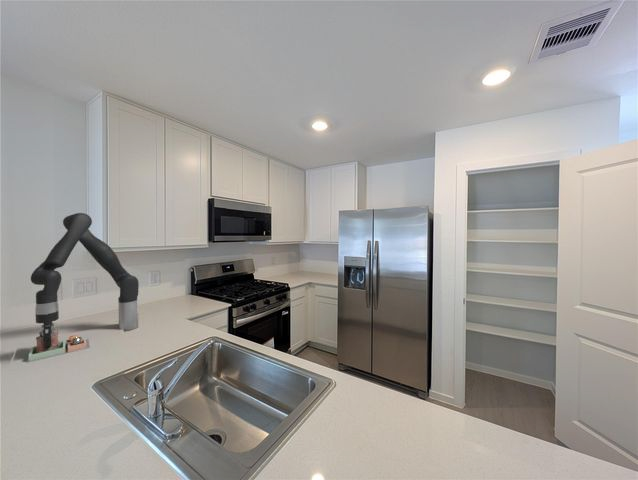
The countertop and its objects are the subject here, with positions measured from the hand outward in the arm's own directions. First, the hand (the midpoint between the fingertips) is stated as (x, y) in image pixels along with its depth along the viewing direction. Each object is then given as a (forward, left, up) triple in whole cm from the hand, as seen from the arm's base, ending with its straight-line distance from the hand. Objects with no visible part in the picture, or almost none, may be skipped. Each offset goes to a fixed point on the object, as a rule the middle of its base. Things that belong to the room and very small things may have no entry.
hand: (48, 345), depth 121 cm
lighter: (0, 0, -2) cm, 2 cm away
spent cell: (-10, +3, -3) cm, 11 cm away
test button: (-9, -4, -3) cm, 10 cm away
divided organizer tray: (-4, 0, -4) cm, 6 cm away
